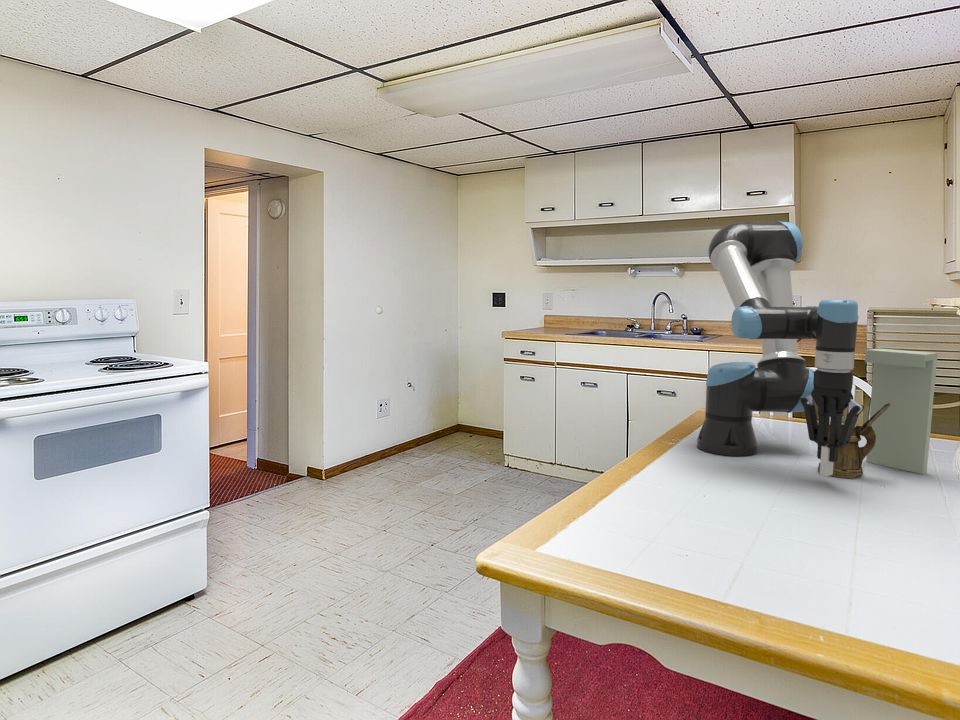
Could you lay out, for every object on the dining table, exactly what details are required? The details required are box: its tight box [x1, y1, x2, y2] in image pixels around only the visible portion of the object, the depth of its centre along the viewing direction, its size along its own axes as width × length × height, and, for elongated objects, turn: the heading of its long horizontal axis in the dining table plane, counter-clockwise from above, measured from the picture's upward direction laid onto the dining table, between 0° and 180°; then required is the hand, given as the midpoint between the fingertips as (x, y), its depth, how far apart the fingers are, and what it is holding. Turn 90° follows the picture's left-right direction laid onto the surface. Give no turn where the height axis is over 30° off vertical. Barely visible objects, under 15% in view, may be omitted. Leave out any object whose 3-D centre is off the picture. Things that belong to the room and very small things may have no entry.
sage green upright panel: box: [864, 348, 939, 475], centre depth 147 cm, size 12×6×28 cm, turn 33°
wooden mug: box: [817, 403, 890, 479], centre depth 143 cm, size 9×14×18 cm, turn 45°
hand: (826, 474), depth 138 cm, fingers closed
